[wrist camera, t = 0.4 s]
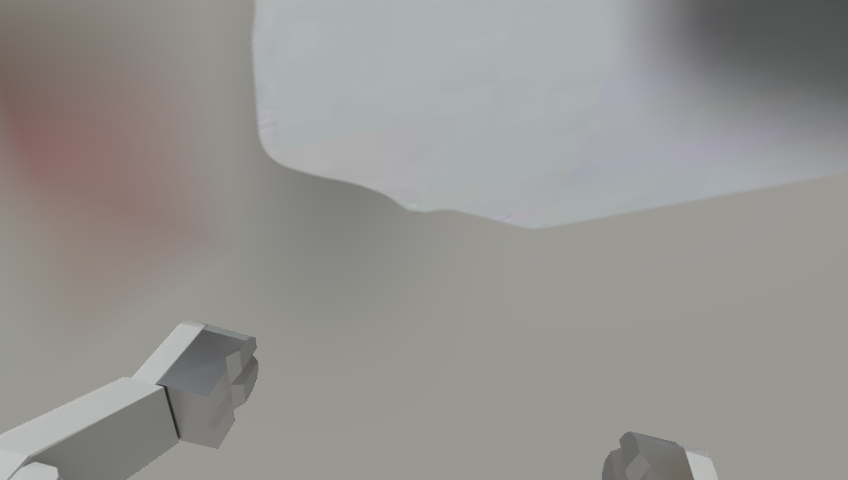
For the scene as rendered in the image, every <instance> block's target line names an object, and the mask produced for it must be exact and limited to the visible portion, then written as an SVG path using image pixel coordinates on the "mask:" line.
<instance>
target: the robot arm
mask: <svg viewBox="0 0 848 480" xmlns="http://www.w3.org/2000/svg"><path fill="white" fill-rule="evenodd" d="M256 348H257V346H256V338H255V337H251V336H248V335H244V334H240V333H237V332H233V331H230V330H226V329H222V328H219V327H215V326H212V325H208V324H204V323H201V322H197V321H193V320H189V319H187V320H185V321H184V322H182V323H180V324H179V325H178V326H177V327H176V328H175V329H174V331H173V332H172V333H171V334H170V335H169V336H168V337H167V339H166V340H165V341H164V342H163V343H162V344H161V345H160V347H158V349H157V350H156V351H155V352H154V353H153V354H152V355H151V357H150V358H149V359H148V360H147V361H146V362H145V363H144V364H143V365H142V367H141V368H140V369H139V370H138V371H137V372H136V373H135V374H134V376H133V377H132V378H129V377H122V378H120V379H118V380H116V381H114V382H112V383H110V384H107V385H105V386H103V387H101V388H99V389H97V390H95V391H93V392H90V393H88V394H86V395H84V396H82V397H80V398H78V399H76V400H73V401H71V402H69V403H67V404H65V405H63V406H61V407H58V408H56V409H55V410H52V411H50V412H48V413H46V414H44V415H41V416H39V417H37V418H35V419H33V420H31V421H29V422H27V423H24V424H22V425H20V426H18V427H16V428H14V429H12V430H9V431H7V432H5V433H3V434H1V435H0V480H126V479H128V478H129V477H131V476H132V475H134V474H135V473H136V472H138V471H139V470H141V469H142V468H143V467H145V466H146V465H148V464H149V463H150V462H152V461H153V460H154V459H156V458H157V457H159V456H160V455H162V454H163V453H164V452H166V451H167V450H169V449H170V448H171V447H173V446H174V445H176V444H177V443H179V440H182V441H186V442H191V443H195V444H200V445H204V446H208V447H212V448H216V449H218V448H219V447H220V445H221V443H222V442H223V440H224V438H225V437H226V435H227V433H228V431H229V430H230V428H231V426H232V425H233V423H234V421H235V418H234V409H236V408H237V407H239V406H241V405H242V404H244V403H246V401H247V399H248V397H249V396H250V394H251V392H252V390H253V387H254V385H255V382H256V379H257V374H258V361H257V360H256V358H255V357H254V356H253V353H254V351H255V350H256ZM620 445H621V448H620V449H617V450H614V451H611V452H610V454H609V455H608V457H607V458H606V460H605V463H604V467H603V472H602V480H718V477H717V474H716V472H715V469H714V466H713V464H712V461H711V459H710V456H709V455H708V454H707V453H706V451H705V450H702V449H699V448H694V447H690V446H686V445H681V444H677V443H676V442H672V441H668V440H664V439H660V438H655V437H651V436H647V435H643V434H639V433H634V432H627V433H625V434H624V435H623V436H622V438H621V439H620Z"/></svg>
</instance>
